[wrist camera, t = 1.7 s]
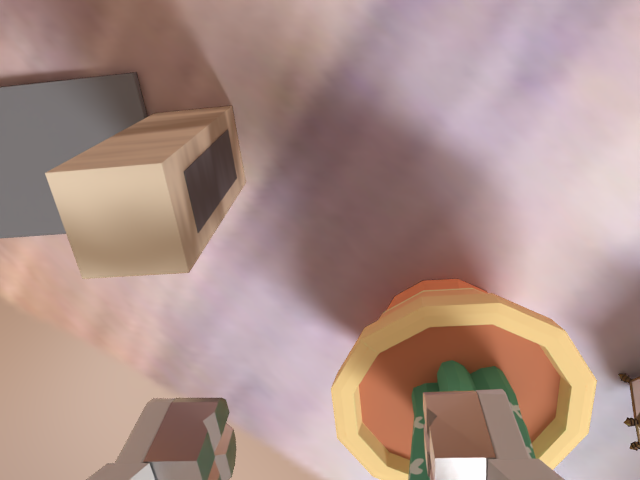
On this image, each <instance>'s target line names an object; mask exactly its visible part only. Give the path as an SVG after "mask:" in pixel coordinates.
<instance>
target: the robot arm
mask: <svg viewBox="0 0 640 480" xmlns="http://www.w3.org/2000/svg"><path fill="white" fill-rule="evenodd" d="M423 411H424V418H425V424H424V425H423V426H424V446H425V458H426V466H427V474H428V477H429V478H430V480H564V479H563V478H562V477H561V476H559V475H558V474H557V473H556V472H555V471H553V470H552V469H551V468H550V467H548V466H547V465H546V464H545V463H544V462H542V461H541V460H540V459H530V457H529V454H528V451H527V449H526V446H525V443H524V440H523V438H522V435H521V432H520V430H519V427H518V424H517V422H516V419H515V416H514V414H513V411H512V408H511V405H510V403H509V400H508V397H507V395H506V392H505V391H504V390H503V389H492V390H476V391H447V392H423ZM228 415H229V409H228V406H227V402H226V400H225V399H223V398H176V399H162V398H159V399H158V398H156V399H155V398H153V399H152V400H150V401H149V402H148V403H147V404H146V406H145V408H144V410H143V411H142V413H141V415H140V417H139V419H138V421H137V423H136V424H135V426H134V428H133V430H132V432H131V434H130V436H129V438H128V439H127V441H126V443H125V445H124V447H123V449H122V450H121V452H120V454H119V456H118V458H117V460H116V461H115V463H110V464H109V463H108V464H106V465H105V466H103V467H102V468H101V469H99V470H98V471H97V472H95V473H94V474H93V475H92V476H90V477H89V478H88V479H86V480H229V479H230V478H231V477H232V473H233V469H234V466H235V457H236V441H235V434H234V430H233V428H232V427H231V426H230V425H229V424H227V423H226V421H227V418H228Z"/></svg>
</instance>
